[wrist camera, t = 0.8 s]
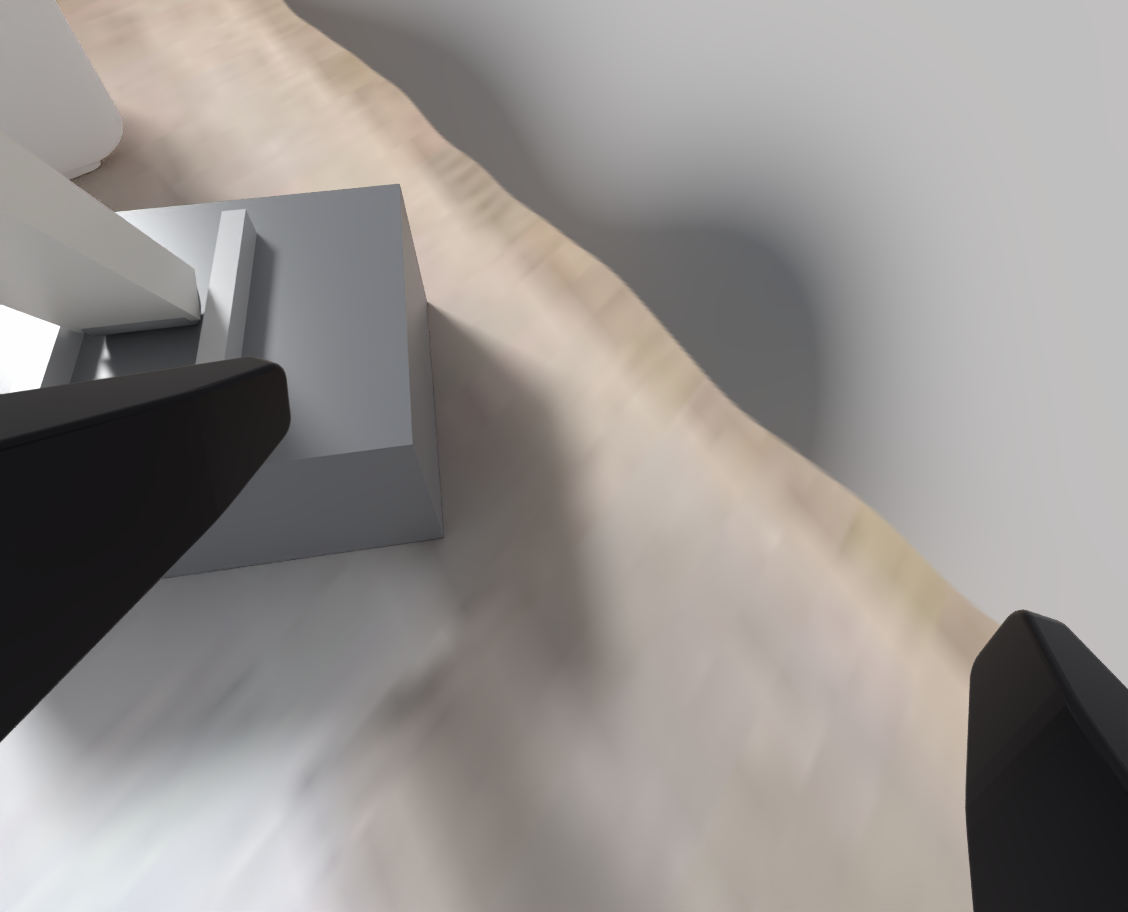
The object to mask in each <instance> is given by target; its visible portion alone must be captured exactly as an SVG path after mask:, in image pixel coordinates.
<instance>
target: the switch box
mask: <svg viewBox="0 0 1128 912" xmlns="http://www.w3.org/2000/svg"><path fill="white" fill-rule="evenodd" d="M115 213H116V214H118V215H119V216H121V217H122V218H123V219H125V220H126V221H128V222H129V223H130V224H132V225H133V226H135V227H136V228H138V229H139V230H140V231H142V232H143V233H145V234H146V235H147V236H149V237H150V238H152V239H153V240H154V241H156V242H157V243H159V244H160V245H161V246H163V247H164V248H166V249H167V250H168V251H170V252H171V253H173V254H174V255H175V256H177V257H178V258H180V259H181V260H183V261H184V262H185V263H187V264H188V265H190V266H191V267H192V268H194V269H195V276H196V285H197V289H198V292H199V296H200V301H201V317H200V319H201V320H199V322H198V323H197V324H196V325H188V326H179V327H171V328H162V329H153V330H144V331H136V332H127V333H118V334H109V335H100V336H90V335H87V334H86V333H76V332H74V331H71V330H68V329H66V328H63V327H60V326H57V325H55V324H52V323H49V322H47V321H44V320H41V319H39V318H36V317H33V316H30V315H28V314H25V313H22V312H20V311H17V310H14V309H12V308H9V307H6V306H4V305H1V304H0V394H5V393H11V392H18V391H24V390H31V389H38V388H44V387H51V386H57V385H64V384H70V383H77V382H83V381H90V380H97V379H103V378H110V377H116V376H123V375H129V374H136V373H142V372H149V371H156V370H162V369H169V368H175V367H182V366H188V365H195V364H201V363H208V362H215V361H221V360H228V359H234V358H241V357H247V356H254V357H259V358H262V359H265V360H268V361H271V362H274V363H277V364H279V365H280V366H281V367H283V369H284V371H285V373H286V377H287V385H288V394H289V403H290V412H291V423H290V427H289V430H288V432H287V434H286V436H285V437H284V438H283V440H282V441H281V442H280V443H279V445H278V446H277V447H276V448H275V450H274V451H273V452H272V454H271V455H270V456H269V457H268V459H267V460H266V461H265V462H264V464H263V465H262V466H261V467H260V469H259V470H258V471H257V472H256V474H255V475H254V476H253V477H252V479H251V480H250V481H249V482H248V484H247V485H246V486H245V487H244V489H243V490H242V491H241V492H240V494H239V495H238V496H237V497H236V499H235V500H234V501H233V503H232V504H231V505H230V506H229V507H228V509H227V510H226V511H225V512H224V513H223V514H222V516H221V517H220V518H219V519H218V520H217V521H216V522H215V523H214V525H213V526H212V527H211V528H210V529H209V530H208V531H207V532H206V533H205V534H204V535H203V536H202V537H201V538H200V539H199V540H198V541H197V542H196V543H195V544H194V545H193V546H192V547H191V548H190V549H189V550H188V551H187V552H186V553H185V555H184V556H183V557H182V558H181V559H180V560H179V561H178V562H177V563H176V564H175V565H174V566H173V567H172V568H171V569H170V570H169V571H168V572H167V573H166V574H165V575H164V576H163V577H162V578H168V577H175V576H182V575H189V574H196V573H203V572H210V571H217V570H223V569H230V568H237V567H244V566H251V565H258V564H265V563H272V562H279V561H286V560H293V559H300V558H307V557H314V556H321V555H327V554H334V553H341V552H348V551H355V550H362V549H369V548H376V547H383V546H390V545H397V544H404V543H411V542H418V541H424V540H431V539H438V538H444V531H443V517H442V503H441V489H440V476H439V462H438V448H437V434H436V421H435V407H434V393H433V379H432V366H431V352H430V338H429V324H428V311H427V299H426V295H425V291H424V286H423V282H422V278H421V273H420V269H419V265H418V260H417V256H416V252H415V248H414V243H413V239H412V235H411V230H410V226H409V222H408V217H407V213H406V209H405V204H404V200H403V196H402V191H401V187H400V184H392V185H382V186H372V187H362V188H352V189H342V190H332V191H322V192H312V193H301V194H291V195H281V196H271V197H261V198H251V199H241V200H231V201H221V202H211V203H200V204H190V205H180V206H170V207H160V208H150V209H140V210H130V211H120V212H115Z"/></svg>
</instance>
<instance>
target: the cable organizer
mask: <svg viewBox="0 0 1128 912" xmlns="http://www.w3.org/2000/svg"><path fill="white" fill-rule="evenodd" d="M0 131H1V132H3V133H4V134H5V135H7V136H8V137H10V138H11V139H12V140H14V141H15V142H17V143H18V144H19V145H21V146H22V147H24V148H25V149H26V150H28V151H29V152H31V153H32V154H33V155H35V156H36V157H38V158H39V159H40V160H42V161H43V162H45V163H46V164H48V165H49V166H50V167H52V168H53V169H55V170H56V171H57V172H59V173H60V174H62V175H63V176H64V177H66V178H67V179H69V180H71V179H73V178H76V177H78V176H81V175H83V174H86V173H88V172H91V171H93V170H95V169H97V168H98V167H99V166H100V165H101V162H100V160H102V159H103V158H105V157H107V156H108V155H109V154H110V153H111V152H113V150H114V149H115V148H116V147H117V145H118V144H119V142H120V140H121V137H122V134H123V121H122V117H121V115H120V113H119V111H118V109H117V107H116V106H115V104H114V102H113V100H112V99H111V97H110V95H109V93H108V92H107V90H106V88H105V86H104V85H103V83H102V81H101V79H100V78H99V76H98V74H97V72H96V71H95V69H94V67H93V65H92V64H91V62H90V60H89V58H88V57H87V55H86V53H85V51H84V49H83V48H82V46H81V44H80V42H79V41H78V39H77V37H76V35H75V34H74V32H73V30H72V28H71V27H70V25H69V23H68V21H67V20H66V18H65V16H64V14H63V13H62V11H61V9H60V7H59V6H58V4H57V2H56V0H0Z"/></svg>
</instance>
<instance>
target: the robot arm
mask: <svg viewBox="0 0 1128 912" xmlns="http://www.w3.org/2000/svg"><path fill="white" fill-rule="evenodd" d="M290 423H291V412H290V403H289V394H288V385H287V377H286V373H285V371H284V369H283V367H281V366H280V365H279V364H277V363H274V362H271V361H268V360H265V359H262V358H259V357H254V356H247V357H241V358H234V359H228V360H221V361H215V362H208V363H201V364H195V365H188V366H182V367H175V368H169V369H162V370H156V371H149V372H142V373H136V374H129V375H123V376H116V377H110V378H103V379H97V380H90V381H83V382H77V383H70V384H64V385H57V386H51V387H44V388H38V389H31V390H24V391H18V392H11V393H5V394H0V742H1V741H2V740H3V739H4V738H5V737H6V736H7V735H8V734H9V733H10V732H11V731H12V730H13V729H14V728H15V727H16V726H17V725H18V724H19V723H20V722H21V721H22V720H23V719H24V718H25V717H26V716H27V715H28V714H29V713H30V712H31V711H32V710H33V709H34V708H35V707H36V706H37V705H38V704H39V703H40V702H41V700H42V699H43V698H44V697H45V696H46V695H47V694H48V693H49V692H50V691H51V690H52V689H53V688H54V687H55V686H56V685H57V684H58V683H59V682H60V681H61V680H62V679H63V678H64V677H65V676H66V675H67V674H68V673H69V672H70V671H71V670H72V669H73V668H74V667H75V666H76V665H77V664H78V663H79V662H80V661H81V660H82V659H83V658H84V657H85V656H86V655H87V654H88V653H89V651H90V650H91V649H92V648H93V647H94V646H95V645H96V644H97V643H98V642H99V641H100V640H101V639H102V638H103V637H104V636H105V635H106V634H107V633H108V632H109V631H110V630H111V629H112V628H113V627H114V626H115V625H116V624H117V623H118V622H119V621H120V620H121V619H122V618H123V617H124V616H125V615H126V614H127V613H128V612H129V611H130V610H131V609H132V608H133V607H134V606H135V605H136V604H137V602H138V601H139V600H140V599H141V598H142V597H143V596H144V595H145V594H146V593H147V592H148V591H149V590H150V589H151V588H152V587H153V586H154V585H155V584H156V583H157V582H158V581H159V580H160V579H161V578H162V577H163V576H164V575H165V574H166V573H167V572H168V571H169V570H170V569H171V568H172V567H173V566H174V565H175V564H176V563H177V562H178V561H179V560H180V559H181V558H182V557H183V556H184V555H185V553H186V552H187V551H188V550H189V549H190V548H191V547H192V546H193V545H194V544H195V543H196V542H197V541H198V540H199V539H200V538H201V537H202V536H203V535H204V534H205V533H206V532H207V531H208V530H209V529H210V528H211V527H212V526H213V525H214V523H215V522H216V521H217V520H218V519H219V518H220V517H221V516H222V514H223V513H224V512H225V511H226V510H227V509H228V507H229V506H230V505H231V504H232V503H233V501H234V500H235V499H236V497H237V496H238V495H239V494H240V492H241V491H242V490H243V489H244V487H245V486H246V485H247V484H248V482H249V481H250V480H251V479H252V477H253V476H254V475H255V474H256V472H257V471H258V470H259V469H260V467H261V466H262V465H263V464H264V462H265V461H266V460H267V459H268V457H269V456H270V455H271V454H272V452H273V451H274V450H275V448H276V447H277V446H278V445H279V443H280V442H281V441H282V440H283V438H284V437H285V436H286V434H287V432H288V430H289V427H290ZM965 810H966V827H967V841H968V853H969V865H970V876H971V888H972V900H973V912H1128V689H1127V688H1126V687H1125V686H1124V685H1123V684H1122V683H1121V681H1120V680H1119V679H1118V678H1117V677H1116V676H1115V675H1114V674H1113V673H1112V672H1111V671H1110V670H1109V669H1108V668H1107V667H1106V666H1105V665H1104V664H1103V663H1102V662H1101V661H1100V660H1099V659H1098V658H1097V657H1096V656H1095V655H1094V654H1093V653H1092V652H1091V651H1090V650H1089V649H1088V648H1087V647H1086V646H1085V644H1084V643H1083V642H1082V641H1081V640H1080V639H1079V638H1078V637H1077V636H1076V635H1075V634H1074V633H1073V632H1072V631H1071V630H1070V629H1069V628H1068V627H1067V626H1066V625H1065V624H1063V623H1062V622H1060V621H1058V620H1055V619H1051V618H1048V617H1045V616H1042V615H1039V614H1036V613H1033V612H1030V611H1027V610H1018V611H1015V612H1013V613H1012V614H1010V616H1008V617H1007V619H1006V620H1005V621H1004V623H1003V624H1002V625H1001V626H1000V627H999V629H998V630H997V631H996V633H995V634H994V635H993V636H992V638H991V639H990V640H989V642H988V643H987V644H986V645H985V647H984V648H983V649H982V651H981V652H980V653H979V655H978V656H977V658H976V659H975V661H974V663H973V666H972V670H971V674H970V690H969V715H968V740H967V764H966V801H965Z"/></svg>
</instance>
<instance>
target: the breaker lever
mask: <svg viewBox="0 0 1128 912" xmlns="http://www.w3.org/2000/svg"><path fill="white" fill-rule="evenodd" d="M0 304H1V305H4V306H6V307H9V308H12V309H14V310H17V311H20V312H22V313H25V314H28V315H30V316H33V317H36V318H39V319H41V320H44V321H47V322H49V323H52V324H55V325H57V326H60V327H63V328H66V329H68V330H71V331H74V332H76V333H86V334H87V335H90V336H100V335H109V334H118V333H127V332H136V331H144V330H153V329H162V328H171V327H179V326H188V325H196V324H197V323H198V322H199V320H201V319H200V317H201V301H200V296H199V292H198V289H197V285H196V276H195V269H194V268H192V267H191V266H190V265H188V264H187V263H185V262H184V261H183V260H181V259H180V258H178V257H177V256H175V255H174V254H173V253H171V252H170V251H168V250H167V249H166V248H164V247H163V246H161V245H160V244H159V243H157V242H156V241H154V240H153V239H152V238H150V237H149V236H147V235H146V234H145V233H143V232H142V231H140V230H139V229H138V228H136V227H135V226H133V225H132V224H130V223H129V222H128V221H126V220H125V219H123V218H122V217H121V216H119V215H118V214H116V213H115V212H114V211H112V210H111V209H109V208H108V207H107V206H105V205H104V204H102V203H101V202H100V201H98V200H97V199H95V198H94V197H93V196H91V195H90V194H88V193H87V192H85V191H84V190H83V189H81V188H80V187H78V186H77V185H76V184H74V183H73V182H71V181H70V180H69V179H67V178H66V177H64V176H63V175H62V174H60V173H59V172H57V171H56V170H55V169H53V168H52V167H50V166H49V165H48V164H46V163H45V162H43V161H42V160H40V159H39V158H38V157H36V156H35V155H33V154H32V153H31V152H29V151H28V150H26V149H25V148H24V147H22V146H21V145H19V144H18V143H17V142H15V141H14V140H12V139H11V138H10V137H8V136H7V135H5V134H4V133H3V132H1V131H0Z"/></svg>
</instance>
